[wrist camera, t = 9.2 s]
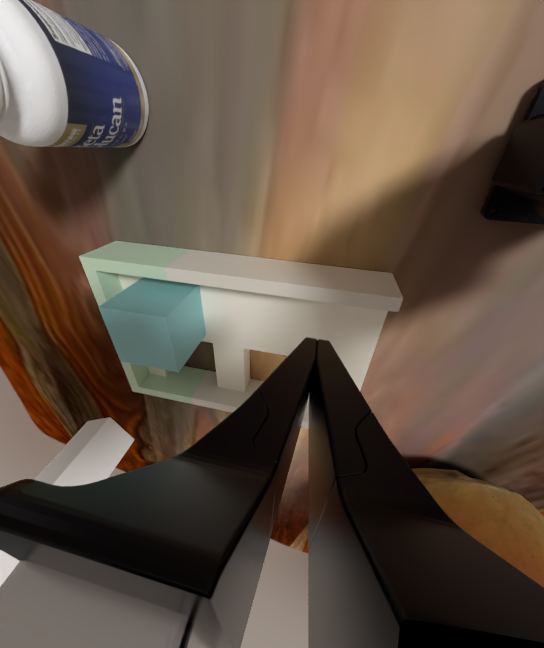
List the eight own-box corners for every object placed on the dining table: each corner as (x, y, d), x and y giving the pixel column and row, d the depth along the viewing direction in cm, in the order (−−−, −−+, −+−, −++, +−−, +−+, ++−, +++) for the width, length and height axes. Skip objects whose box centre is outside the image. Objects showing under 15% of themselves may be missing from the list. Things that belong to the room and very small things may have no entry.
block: (199, 284, 21) (165, 317, 17) (206, 334, 24) (178, 372, 20) (143, 277, 21) (98, 306, 17) (156, 326, 24) (120, 361, 20)
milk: (110, 416, 40) (-71, 628, 22) (135, 439, 43) (-9, 646, 25) (87, 420, 43) (-94, 615, 25) (112, 442, 45) (-35, 633, 27)
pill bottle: (136, 166, 19) (-13, 179, 11) (66, 107, 17) (-158, 73, 10) (165, 86, 16) (-10, 23, 8) (83, 8, 15) (-219, -159, 7)
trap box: (392, 273, 19) (403, 298, 16) (349, 403, 28) (350, 437, 24) (116, 240, 22) (78, 256, 19) (154, 366, 31) (132, 391, 28)
